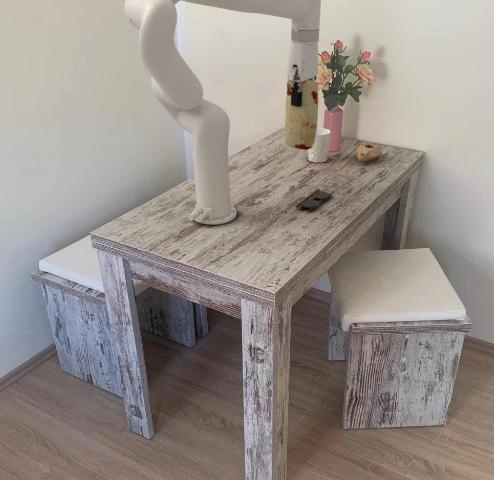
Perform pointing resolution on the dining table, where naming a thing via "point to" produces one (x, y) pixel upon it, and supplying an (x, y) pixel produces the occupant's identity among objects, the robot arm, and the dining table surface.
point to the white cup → (320, 146)
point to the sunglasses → (313, 200)
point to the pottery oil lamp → (368, 152)
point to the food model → (302, 117)
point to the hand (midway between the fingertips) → (302, 102)
